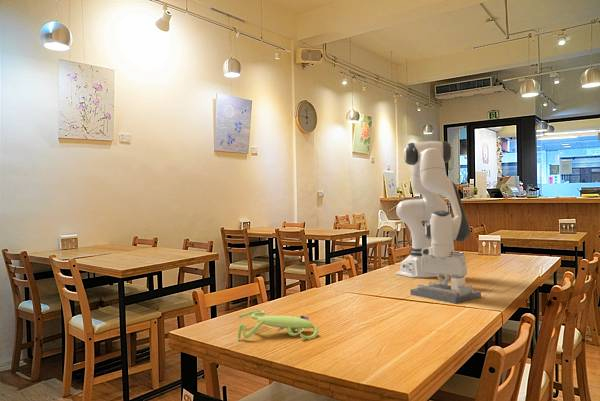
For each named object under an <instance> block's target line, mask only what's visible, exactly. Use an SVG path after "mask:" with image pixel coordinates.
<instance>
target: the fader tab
mask: <svg viewBox="0 0 600 401" xmlns="http://www.w3.org/2000/svg"><path fill="white" fill-rule="evenodd" d="M450 285H451V290H454V291H457V288H459V287H464V286H466V276H463V277H459V276H451V277H450Z"/></svg>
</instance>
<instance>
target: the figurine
mask: <svg viewBox="0 0 600 401" xmlns="http://www.w3.org/2000/svg"><path fill="white" fill-rule="evenodd" d="M247 316H250V318H251V319H252V320H256V321H257V322H258V323H257V324H256V325H255V326H254V327H253V328H252V329H251V330H250V331H249V332H248V333H247V334H246V325H245V323H241V324H240V325H239V327H238V330H237V340H238V339H240V338H242V335H243V338H245V339H249V338H250V337H252V336H253V335H254V334H255V333H256V332H257V331H258V330H259V329H260V328H261V326H262V325H264V326H268V327H273V328H278V329H276V330H275V332H279V331H281V330H284V329H286V331H287V334H288V335H289V336H291V337H296V336H297V335H299V336H300V337H301V339H303V340H305V339H309V340H312V339H311V338H314V339H316V337H318V334H319V329H318V327H317V326H316V325H315V324H313V323H312V322H311V321H310V320H309V318H310V317H309V316H308V317H307V316H304V315H300V316H288V315H266V312H265V311H264V310H259V309H258V310H251V311H247V312H245V313H244V312H243V313H241V314H239V315H238V319H242V318H245V317H247ZM308 328H311V329H313V331H314V332H313V334H311V335H304V334H303V332H304V331H305V330H306V329H308ZM296 330H297V332H295V331H296ZM293 331H294V332H293Z"/></svg>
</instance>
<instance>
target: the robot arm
mask: <svg viewBox="0 0 600 401" xmlns="http://www.w3.org/2000/svg"><path fill="white" fill-rule="evenodd" d="M452 155H453V149H452V146H451V144H450V143H449V142H448V141H445V140H441V141H437V140H427V141H419V142H410V143H406V144H405V146H404V148H403V151H402V158H403V160H404V163H406V164H407V165H408V166H411V188H412V190H413V191H414V192H415V193H416V194H418V195H421V196H423V197H422V198H419V199H417V198H416V199H405V200H401V201H399V202H398V204H397V205H396V210H395V211H396V216H397V217H398V219H399V220H401V221H402V222H403V223H404V224H405V225H406V226H407V227H408V229H409V232H410V238H411V246H412V247H411V248H409V249H408V250H407V251H408V252H409V255H408V256H407V257H405V259H403V260H402V261H401V262H400V266H399V270H396V272H395V274H396V275H399V276H404V277H408V278H414V279H415V278H424V279H425V278H437V279H438V281H439V283H438V284H440V285H445V286H446V285H449V281H450V279H451V277H452V276H459V277H463V276H464V277H466V276H467V274H468V270H467V269H468V268H467V267H468V266H467V264H466V256H464V255H463V254H462V253H456V252H457V251H455V243H454V242H464V241H466V240H467V239H468V238H469V237H470V235H471V226H470V223H469V220H468V218H467V215H466V213H465V212H466V211H465V210H464V207H463V206H464V205H463V203H462V202H463V201H462V200H461V196H460V194H459V190H458V188H457V185H456V183H455V182H453V181H451V179H450V178H449V177H448V175H447V170H446V164H447V163H449V162H450V160H451V158H452ZM439 195H440V196H439ZM441 196H442V197H444V198H446V199H447V200H448V201H449V203H450V207H451V210H452V213H453V216H454V217H452V214H451V212H449V206H448V203H447V202H446V200H444V199H443V198H441ZM423 221H426V222H425V223H423V224H424V225H423V224H422V222H423ZM462 255H463V256H462ZM443 277H444V278H443Z"/></svg>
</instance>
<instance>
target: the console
mask: <svg viewBox="0 0 600 401" xmlns="http://www.w3.org/2000/svg"><path fill="white" fill-rule="evenodd" d="M450 285H451V284H448V285H446V286H445V285H440V284H439V283H437V282H431V281H430V282H428V285H424V284H417V287H416V288H412V289H410V295H412V296H417V297H421V298H422V297H423V298H427V299H431V300H436V301H441V302H445V303H452V304H458V303H464V302H467V301H471V300H474V299H478V298H482V291H478V290H474V289H473V285H471V284H469V285H465V286H464V287H459V288H457V291H454V290H451V286H450Z"/></svg>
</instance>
